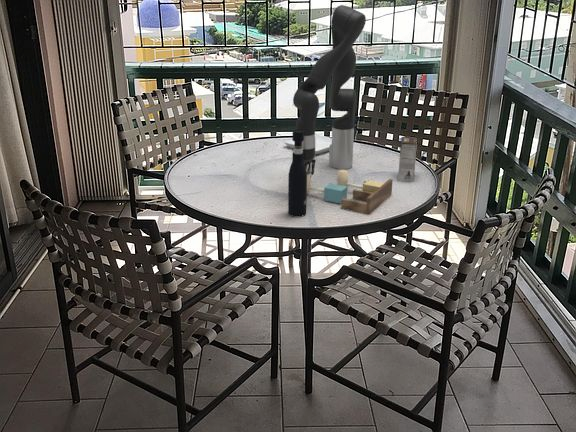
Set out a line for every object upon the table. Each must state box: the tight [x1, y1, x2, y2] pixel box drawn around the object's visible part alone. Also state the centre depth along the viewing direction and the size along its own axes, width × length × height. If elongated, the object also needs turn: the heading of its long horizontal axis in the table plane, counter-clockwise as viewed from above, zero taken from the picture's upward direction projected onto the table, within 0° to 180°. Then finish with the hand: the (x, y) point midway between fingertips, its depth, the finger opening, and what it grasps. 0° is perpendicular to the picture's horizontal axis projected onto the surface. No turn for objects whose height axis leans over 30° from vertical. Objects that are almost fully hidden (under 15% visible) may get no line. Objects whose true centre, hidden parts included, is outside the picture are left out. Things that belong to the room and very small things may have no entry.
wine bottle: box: [287, 129, 308, 217], centre depth 215 cm, size 6×6×30 cm
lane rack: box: [340, 178, 393, 215], centre depth 231 cm, size 11×22×6 cm, turn 151°
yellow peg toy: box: [336, 169, 385, 193], centre depth 237 cm, size 18×5×8 cm, turn 61°
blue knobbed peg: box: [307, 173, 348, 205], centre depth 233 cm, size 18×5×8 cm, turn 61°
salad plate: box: [283, 133, 332, 155], centre depth 292 cm, size 21×21×3 cm
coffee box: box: [397, 136, 418, 182], centre depth 252 cm, size 9×6×16 cm
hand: (304, 188), depth 237 cm, fingers closed on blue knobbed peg, 4 cm apart
